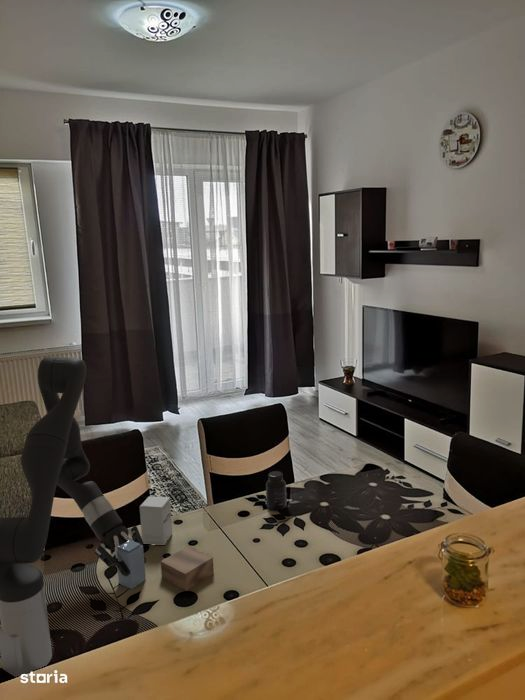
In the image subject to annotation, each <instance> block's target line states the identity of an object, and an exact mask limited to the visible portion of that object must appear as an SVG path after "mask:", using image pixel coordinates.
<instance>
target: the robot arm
mask: <svg viewBox="0 0 525 700" xmlns="http://www.w3.org/2000/svg"><path fill="white" fill-rule="evenodd" d="M86 378H87V365H86V363H85V361H84V359H81V358H78V357H67V356H66V357H64V356H45V357H43V358H42V359H41V361H40V362H39V365H38V369H37V383H38V387H39V391H40V394H41V397H42V400H43V404H44V407H45V410H46V414H44V415H43V417H41V418H40V419H39V420H38V421H37V422H36V423H35V424H34V425H33V426H32V427H31V428H30V430H29V431H28V433H27V435H26V438H25V441H24V445H23V448H22V451H21V456H20V465H21V468H22V471H23V472H22V473H23V475H24V477H25V480H26V481H27V485H28V487H29V489H30V493H31V503H30V508H29V513H28V516H13V517H12V516H7V517H0V626H1V627H0V660H1V668H2V669H3V670H4V671H5V672H6V673H9V674H10V675H11V676H13V677H14V678H16V677H17V676H20V675H21V674H24V673H28V672H30V671H33V670H36V669H39V668H42V667H44V666H45V667H46V666H47V665H49V663H50V662H51V660H52V658H53V651H52V642H51V634H50V625H49V618H48V617H49V616H48V609H47V600H46V590H45V581H44V575H43V572H42V571H41V569H39V568H38V567H36V566H35V565H34V566H33V565H31V564H33V563H34V564H35V563H36V562H37V561H39V560H40V559H41V557H42V555H43V554H44V550H45V547H46V545H47V540H48V535H49V530H50V523H51V517H52V510H53V504H54V498H55V493H56V489H57V487H59V488H60V489H61V490H63V491H64V492H65V493H66V494H68V496H70V497H71V498H72V500H74V502H75V503H76V505H77V506H78V508H79V510H80V512H81V513H82V515H83V517H84V519H85V521H86V523H88V525H89V527H90V528H91V530H92V531H93V533H94V534H95V536H96V538H97V539H98V540H100V545H98V546H96V548H95V549H94V554H95V555H96V556H97V557H98V558H99V559H100V560H101V561H102V562H103V563H104V564H105V565H106V566H107V567H108V568H110V567H112V566H116V568H117V570H118V569H119V571H120V572H121V574H122V575H123V576H125V577H126V576H128V575H129V574H130V570H129V569H128V567H127V566H126V564H125V562H124V561H122V558H121V556H120V554H119V551H118V550H119V548H118V547H119V546H120V545H122V544H124V543H125V542H127V541H129V540H131V541H134V542H137V543H139V544H141V545H142V546H143V547H144V545H143V544H144V543H143V541H142V535H141V534H140V531H139V528H138V526H136V525H133V527H129V528H127V527H126V526H125V525H124V523H123V520H122V519H121V517H120V515H118V513H117V511H116V510H115V508H114V506H113V505H112V504H111V502H110V501H109V500H108V499H107V498H106V497H105V495H104V494H103V492H102V491H101V489H100V487H99V486H98V485H97V483H96V482H95V481H93V480H90V481H85V482H77V481H78V480H79V479H82V478H83V477H85V476H87V475H88V474H89V472H90V469H91V464H90V461H89V458H87V456H86V453H85V451H84V449H83V446H82V438H81V437H82V436H81V429H80V425H79V423H78V421H77V419H76V418H75V413H76V410H77V407H78V404H79V401H80V398H81V395H82V392H83V389H84V385H85V383H86ZM59 394H62V395H61V396H59ZM108 550H109V551H108ZM144 564H145V565H146V564H147V559H146V557H145V556H144ZM45 667H44V668H45ZM42 669H43V668H42Z"/></svg>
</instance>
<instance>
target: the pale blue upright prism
mask: <svg viewBox="0 0 525 700" xmlns="http://www.w3.org/2000/svg"><path fill="white" fill-rule="evenodd" d="M118 548H119V550H118V551H119V554H120V556H121V558H122V561H124V562H125V564H126V566H127V567H128V569H129V570H130V574H129V575H128V576H126V577H125V576H123V575H122V574H121V572H120V571H119V569H118V568H117V577H118V579H117V580H118V584H119V585H121V586H123V587H126V588H128V589H131V590H133V589H135V588H136V587H138V586H139V585H140V584H142V583H143V582H145V581H146V580H147V578H146V567H145V565H146V563H145V564H144V557H145V555H144V545H143V546H142V545H141V544H139V543H137V542H134V541H131V540H129V541H127V542H125V543H124V544H122V545H120V546H119V547H118ZM137 585H138V586H137Z"/></svg>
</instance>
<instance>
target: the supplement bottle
mask: <svg viewBox="0 0 525 700" xmlns="http://www.w3.org/2000/svg"><path fill="white" fill-rule="evenodd" d="M283 475H284V474H283V472H282V471H279V470H274V471H270V472H269V473H268V480H267V481H266V482H265V494H266V497H265V498H266V499H265V500H266V507H267V509H269V510H270V511H274V512H275V511H282V510H284V509H286V508H287V506H288V505H287V503H288V502H287V484H286V483H287V482H286V481H285V480H284V476H283Z"/></svg>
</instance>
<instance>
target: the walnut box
mask: <svg viewBox="0 0 525 700" xmlns="http://www.w3.org/2000/svg"><path fill="white" fill-rule="evenodd" d="M160 570H161V571H160V572H161V579H164V580H167V582H170V583H171V584H173V585H176V586H178V587H179V588H180V589H183V590H185V591H188V590H189V589H191V588H193V587H195V586H197V584H200V583H201V582H202V581H204V580H205V579H207V578H209V577H210V576H212V575H213V574H214V573H215V570H214V557H213V556H211V555H209V554H206V553H204V552H203V551H200V550H198V549H196V548H193V547H191V546H190V545H188V546H186V547H184V548H181V549H180V550H179V551H176V552H175V553H173V554H171V555H169V556H167V557H166V558H163V559H162V560H160Z"/></svg>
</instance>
